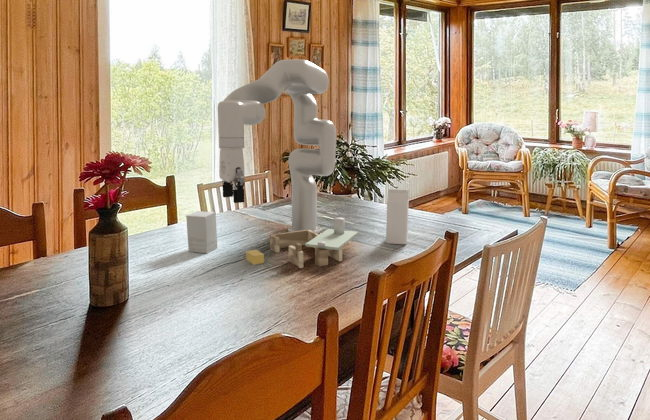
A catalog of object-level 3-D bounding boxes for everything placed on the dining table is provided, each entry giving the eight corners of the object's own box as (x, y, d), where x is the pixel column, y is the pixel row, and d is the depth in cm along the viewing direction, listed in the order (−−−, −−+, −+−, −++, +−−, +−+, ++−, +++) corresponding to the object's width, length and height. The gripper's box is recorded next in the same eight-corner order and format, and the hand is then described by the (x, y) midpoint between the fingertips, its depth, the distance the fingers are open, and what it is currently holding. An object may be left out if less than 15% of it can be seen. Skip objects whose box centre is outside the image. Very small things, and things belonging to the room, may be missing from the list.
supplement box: (218, 247, 190) (216, 212, 187) (206, 253, 183) (205, 216, 180) (199, 245, 192) (197, 210, 189) (187, 251, 185) (185, 215, 182)
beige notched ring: (270, 248, 188) (269, 228, 187) (309, 242, 195) (309, 223, 194) (302, 269, 167) (301, 247, 166) (344, 262, 174) (344, 240, 173)
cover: (328, 230, 191) (328, 214, 190) (358, 234, 187) (358, 217, 186) (303, 247, 172) (303, 229, 170) (336, 251, 168) (336, 232, 167)
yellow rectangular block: (246, 260, 177) (246, 251, 176) (256, 258, 179) (256, 249, 178) (253, 265, 172) (253, 256, 171) (264, 263, 174) (263, 254, 173)
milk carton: (406, 244, 193) (408, 191, 189) (385, 243, 195) (387, 190, 191) (407, 239, 200) (409, 188, 196) (387, 238, 202) (389, 187, 197)
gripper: (210, 141, 169) (212, 195, 173) (229, 146, 155) (231, 206, 158) (233, 140, 173) (235, 193, 177) (254, 145, 158) (255, 203, 162)
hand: (233, 199), depth 168 cm, fingers open, 9 cm apart
